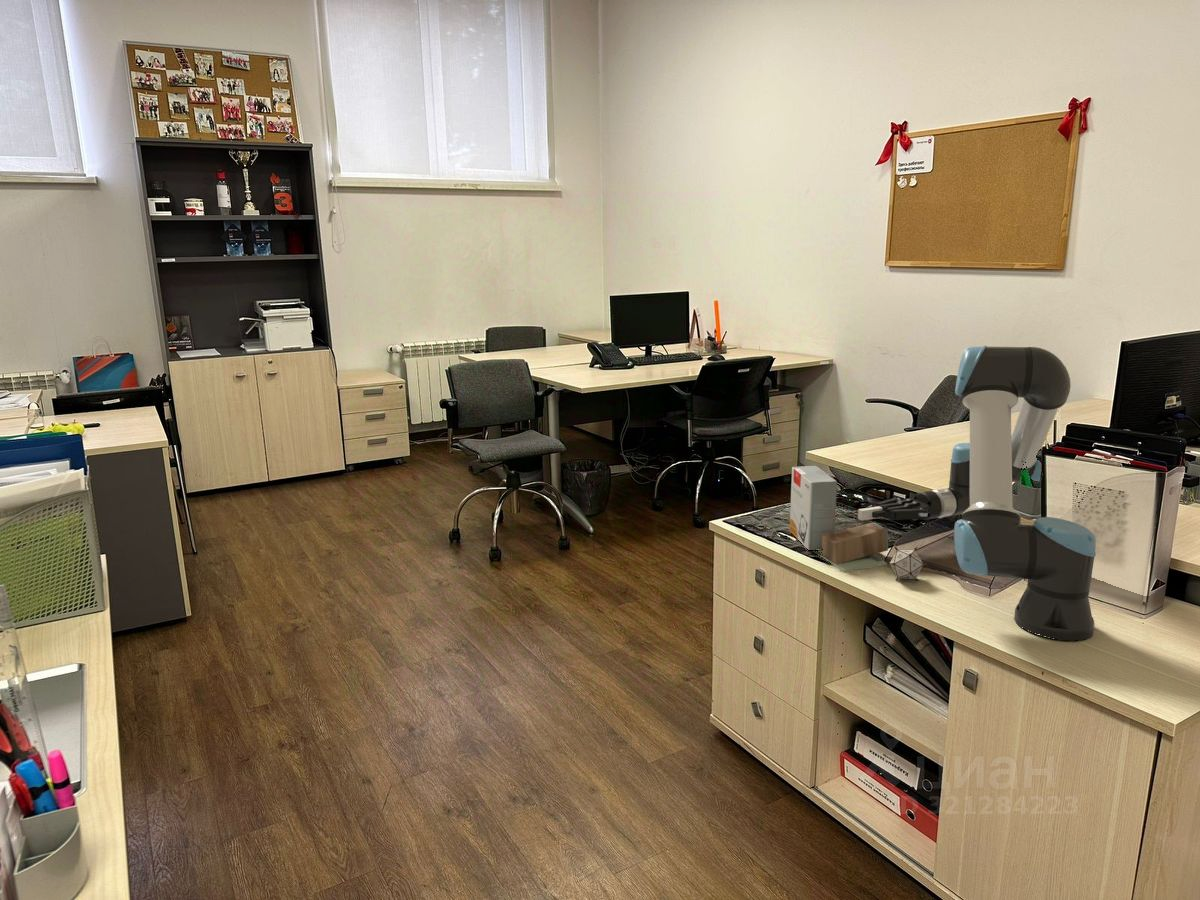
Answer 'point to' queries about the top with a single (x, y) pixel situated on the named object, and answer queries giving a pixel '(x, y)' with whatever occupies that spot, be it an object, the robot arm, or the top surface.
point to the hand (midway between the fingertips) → (859, 514)
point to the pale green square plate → (859, 563)
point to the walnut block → (855, 543)
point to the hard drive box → (812, 505)
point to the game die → (906, 564)
